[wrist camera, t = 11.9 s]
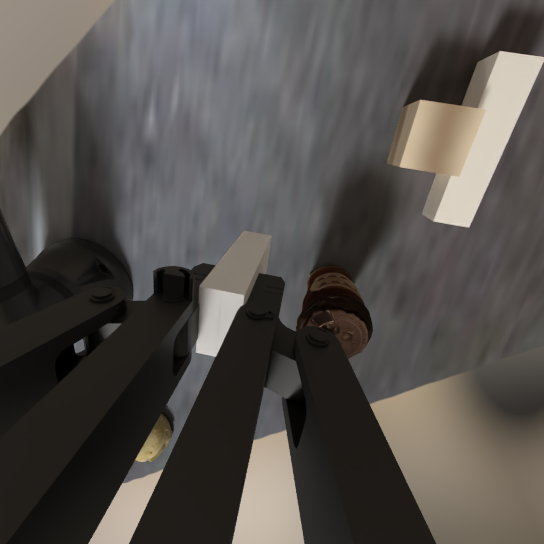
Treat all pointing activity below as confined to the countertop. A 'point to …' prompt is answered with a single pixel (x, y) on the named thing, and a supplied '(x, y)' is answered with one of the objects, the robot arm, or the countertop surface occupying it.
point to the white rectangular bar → (484, 134)
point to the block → (435, 137)
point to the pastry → (156, 440)
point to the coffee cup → (336, 309)
